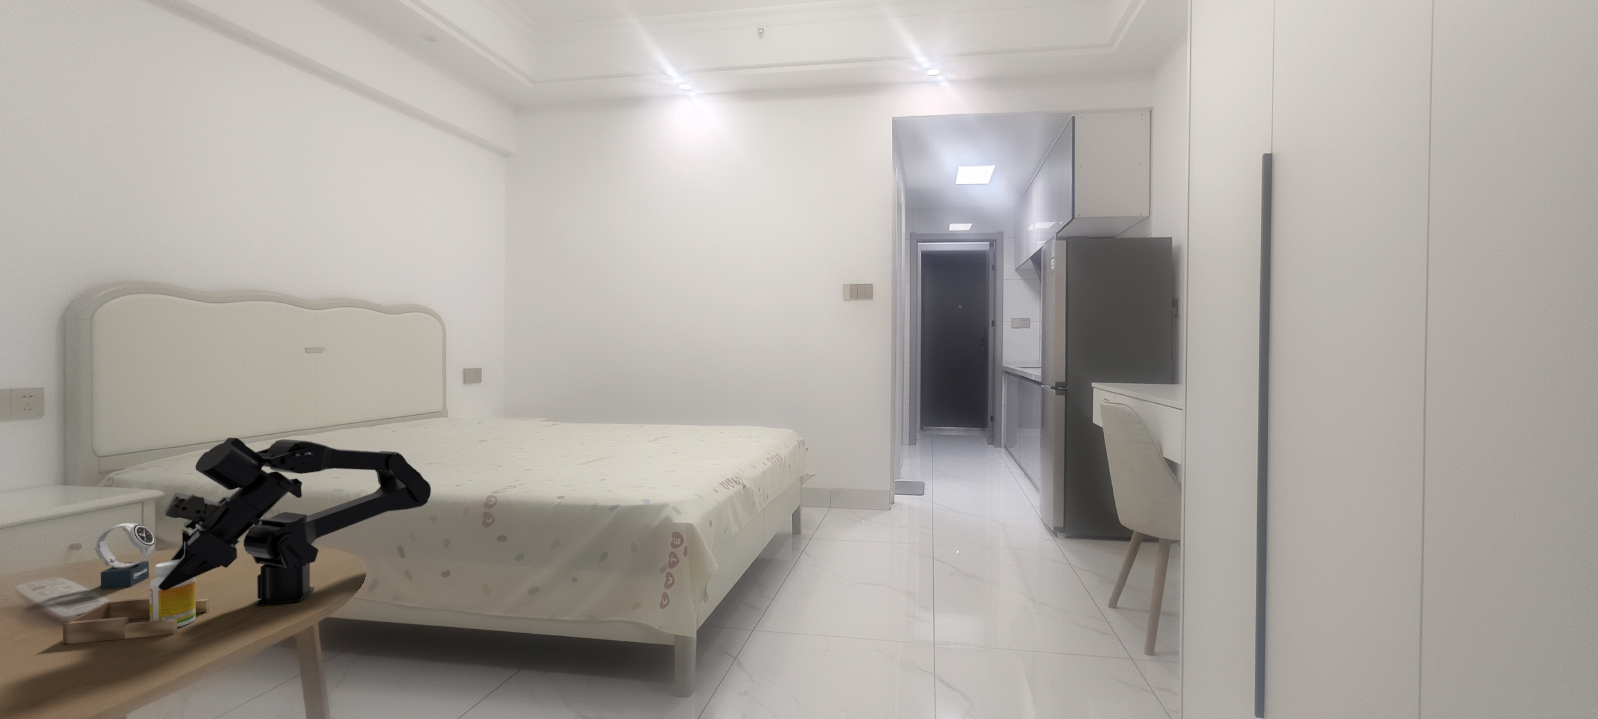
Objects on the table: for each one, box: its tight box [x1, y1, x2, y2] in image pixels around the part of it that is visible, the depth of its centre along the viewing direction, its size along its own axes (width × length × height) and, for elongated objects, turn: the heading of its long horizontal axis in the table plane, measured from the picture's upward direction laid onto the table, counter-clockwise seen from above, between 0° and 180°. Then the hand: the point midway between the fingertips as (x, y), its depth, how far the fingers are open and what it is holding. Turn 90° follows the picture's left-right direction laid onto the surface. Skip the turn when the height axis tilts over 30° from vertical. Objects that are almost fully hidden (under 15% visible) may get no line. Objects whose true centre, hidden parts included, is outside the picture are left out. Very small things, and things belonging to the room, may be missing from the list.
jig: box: [62, 597, 210, 645], centre depth 107 cm, size 14×10×3 cm
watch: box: [94, 522, 157, 590], centre depth 126 cm, size 6×8×11 cm
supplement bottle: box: [148, 559, 197, 628], centre depth 108 cm, size 5×5×10 cm
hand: (160, 584), depth 107 cm, fingers closed on supplement bottle, 5 cm apart
